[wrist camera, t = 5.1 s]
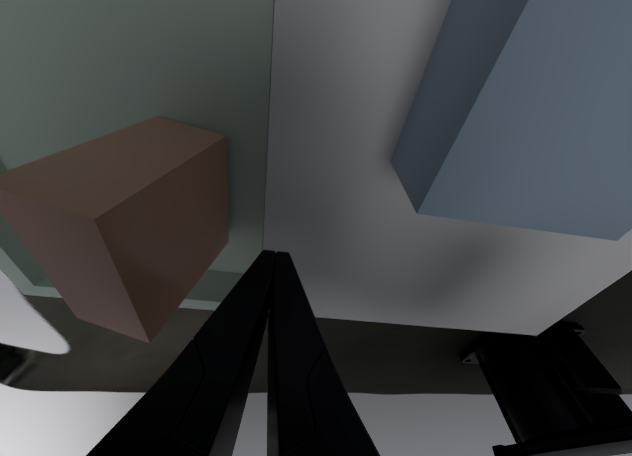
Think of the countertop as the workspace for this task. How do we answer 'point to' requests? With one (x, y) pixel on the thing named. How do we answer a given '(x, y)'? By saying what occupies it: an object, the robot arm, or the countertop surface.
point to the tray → (140, 101)
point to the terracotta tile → (124, 220)
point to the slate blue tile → (525, 118)
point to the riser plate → (395, 188)
